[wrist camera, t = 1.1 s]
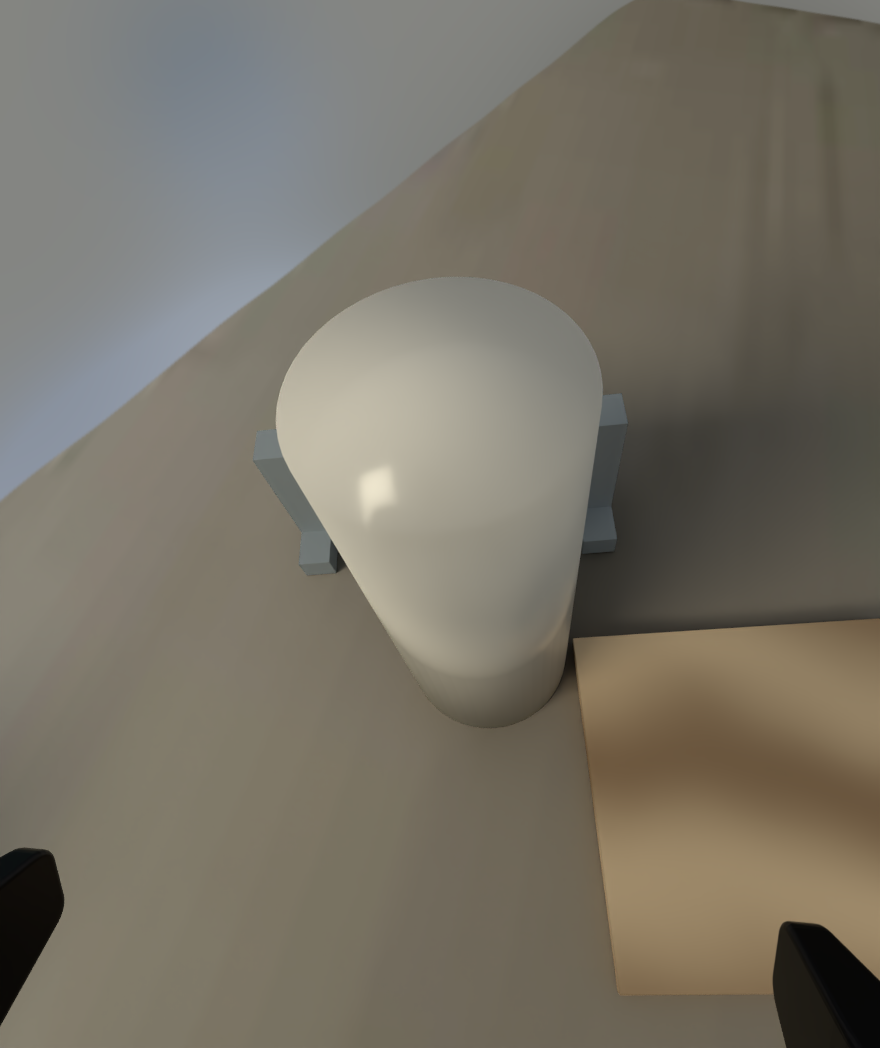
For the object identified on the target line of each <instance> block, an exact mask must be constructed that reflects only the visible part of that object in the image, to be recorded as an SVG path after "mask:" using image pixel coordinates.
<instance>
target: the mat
mask: <svg viewBox="0 0 880 1048" xmlns="http://www.w3.org/2000/svg"><path fill="white" fill-rule="evenodd" d="M572 645H573V653H574V661H575V668H576V676H577V684H578V691H579V699H580V707H581V714H582V722H583V730H584V737H585V745H586V753H587V760H588V768H589V776H590V783H591V791H592V799H593V806H594V814H595V822H596V829H597V837H598V845H599V852H600V860H601V868H602V875H603V883H604V891H605V898H606V906H607V914H608V921H609V929H610V937H611V944H612V952H613V960H614V967H615V975H616V983H617V990H618V993H619V994H620V995H734V994H774V993H773V982H772V977H773V969H774V962H775V955H776V948H777V941H778V934H779V929H780V926H781V925H782V923H783V922H786V921H795V922H805V923H815V924H820V925H822V926H824V927H825V928H827V929H828V930H829V931H830V932H831V933H832V934H833V935H834V936H835V937H836V938H837V939H838V940H839V941H841V942H842V943H843V944H844V945H845V946H846V947H847V948H848V949H849V950H850V951H851V952H852V953H853V954H854V955H855V956H856V957H857V958H858V959H859V960H860V961H861V962H862V963H863V964H864V965H865V966H866V967H867V968H868V969H869V970H870V971H871V972H872V973H873V974H874V975H875V976H876V977H877V978H878V979H879V980H880V618H879V619H863V620H848V621H833V622H817V623H802V624H786V625H771V626H755V627H740V628H724V629H709V630H694V631H678V632H663V633H647V634H632V635H616V636H601V637H586V638H573V643H572Z"/></svg>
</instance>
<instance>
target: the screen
mask: <svg viewBox="0 0 880 1048" xmlns="http://www.w3.org/2000/svg"><path fill="white" fill-rule="evenodd" d="M627 426H628V421H627V417H626V412H625V407H624V403H623V398H622V393H620V394H611V395H603V396H602V409H601V416H600V423H599V430H598V436H597V443H596V450H595V457H594V464H593V471H592V478H591V485H590V492H589V499H588V506H587V513H586V520H585V527H584V534H583V541H582V548H581V550H582V554H586V553H599V552H611V551H614V550H615V546H616V542H617V536H616V530H615V525H614V519H613V514H612V508H611V504H612V500H613V495H614V490H615V485H616V480H617V475H618V470H619V465H620V460H621V455H622V450H623V445H624V440H625V435H626V431H627ZM253 461H254V463H255V464H256V466H257V467H258V469H259V470H260V472H261V473H262V475H263V476H264V478H265V479H266V481H267V482H268V484H269V485H270V486H271V488H272V489H273V491H274V492H275V494H276V495H277V497H278V498H279V500H280V501H281V503H282V504H283V506H284V507H285V509H286V510H287V512H288V513H289V514H290V516H291V517H292V519H293V520H294V522H295V523H296V525H297V526H298V528H299V529H300V531H301V532H302V536H301V546H300V556H299V566H300V567H301V568H302V570H303V571H304V572H305V574H306V575H317V574H330V573H336V569H337V553H338V550H337V548H336V546H335V545H334V543H333V541H332V540H331V538H330V536H329V535H328V533H327V531H326V530H325V528H324V526H323V525H322V523H321V521H320V520H319V518H318V516H317V515H316V513H315V511H314V510H313V508H312V506H311V505H310V503H309V501H308V500H307V498H306V497H305V495H304V493H303V492H302V490H301V488H300V487H299V485H298V483H297V482H296V480H295V478H294V477H293V475H292V473H291V472H290V470H289V468H288V466H287V464H286V462H285V460H284V457H283V455H282V452H281V449H280V445H279V442H278V437H277V429H272V430H263V431H257V435H256V442H255V449H254V456H253Z"/></svg>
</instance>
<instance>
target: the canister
mask: <svg viewBox="0 0 880 1048" xmlns="http://www.w3.org/2000/svg"><path fill="white" fill-rule="evenodd" d="M602 396H603V385H602V375H601V370H600V366H599V363H598V359H597V356H596V354H595V352H594V350H593V348H592V346H591V344H590V341H589V340H588V338H587V337H586V336H585V334H584V333H583V331H582V330H581V328H580V327H579V326H578V325H577V324H576V323H575V322H574V321H573V320H572V319H571V318H570V317H569V316H568V315H567V314H566V313H565V312H564V311H562V310H561V309H560V308H558V307H557V306H556V305H555V304H553V303H551V302H550V301H548V300H546V299H545V298H543V297H541V296H540V295H537V294H535V293H533V292H531V291H528V290H526V289H524V288H521V287H518V286H515V285H512V284H509V283H505V282H500V281H495V280H491V279H484V278H474V277H442V278H431V279H425V280H419V281H413V282H409V283H405V284H402V285H398V286H394V287H391V288H389V289H386V290H383V291H380V292H377V293H375V294H373V295H371V296H369V297H367V298H364V299H362V300H360V301H358V302H357V303H355V304H353V305H352V306H350V307H348V308H346V309H345V310H343V311H342V312H340V313H339V314H338V315H336V316H335V317H334V318H332V319H331V320H329V321H328V322H327V323H326V324H325V325H324V326H323V327H321V328H320V329H319V330H318V331H317V332H316V333H315V334H314V335H313V336H312V337H311V338H310V340H309V341H308V342H307V343H306V344H305V345H304V346H303V348H302V349H301V351H300V352H299V353H298V355H297V356H296V358H295V359H294V361H293V362H292V364H291V366H290V368H289V370H288V372H287V374H286V376H285V379H284V381H283V384H282V387H281V389H280V393H279V398H278V403H277V411H276V428H277V437H278V442H279V445H280V449H281V452H282V455H283V457H284V460H285V462H286V464H287V466H288V468H289V470H290V472H291V473H292V475H293V477H294V478H295V480H296V482H297V483H298V485H299V487H300V488H301V490H302V492H303V493H304V495H305V497H306V498H307V500H308V501H309V503H310V505H311V506H312V508H313V510H314V511H315V513H316V515H317V516H318V518H319V520H320V521H321V523H322V525H323V526H324V528H325V530H326V531H327V533H328V535H329V536H330V538H331V540H332V541H333V543H334V545H335V546H336V548H337V550H338V551H339V553H340V555H341V556H342V558H343V560H344V561H345V563H346V565H347V566H348V568H349V570H350V571H351V573H352V575H353V576H354V578H355V580H356V581H357V583H358V585H359V586H360V588H361V590H362V591H363V593H364V595H365V596H366V598H367V600H368V601H369V603H370V605H371V606H372V608H373V610H374V611H375V613H376V615H377V616H378V618H379V619H380V621H381V623H382V624H383V626H384V628H385V629H386V631H387V633H388V634H389V636H390V638H391V639H392V641H393V643H394V644H395V646H396V648H397V649H398V651H399V653H400V654H401V656H402V658H403V659H404V661H405V663H406V664H407V666H408V668H409V669H410V671H411V673H412V674H413V676H414V678H415V679H416V681H417V683H418V684H419V686H420V688H421V689H422V691H423V692H424V694H425V695H426V697H427V698H428V700H429V701H430V702H431V703H432V704H433V705H434V706H435V707H436V708H437V709H438V710H439V711H441V712H442V713H443V714H445V715H446V716H448V717H449V718H451V719H453V720H455V721H457V722H460V723H462V724H465V725H469V726H473V727H479V728H498V727H505V726H508V725H512V724H515V723H518V722H520V721H523V720H525V719H526V718H528V717H530V716H531V715H533V714H534V713H536V712H537V711H538V710H539V709H541V708H542V707H543V706H544V705H545V704H546V703H547V702H548V700H549V699H550V698H551V696H552V695H553V694H554V692H555V690H556V688H557V687H558V685H559V683H560V680H561V677H562V675H563V671H564V666H565V660H566V653H567V646H568V639H569V632H570V625H571V618H572V611H573V604H574V597H575V590H576V583H577V576H578V569H579V562H580V555H581V548H582V541H583V534H584V527H585V520H586V513H587V506H588V499H589V492H590V485H591V478H592V471H593V464H594V457H595V450H596V443H597V436H598V430H599V423H600V416H601V409H602Z"/></svg>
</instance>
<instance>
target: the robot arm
mask: <svg viewBox="0 0 880 1048" xmlns="http://www.w3.org/2000/svg"><path fill="white" fill-rule="evenodd" d="M63 907H64V894H63V890H62V886H61V882H60V878H59V874H58V870H57V866H56V862H55V859H54V856H53V854H52V853H51V852H50V851H48V850H44V849H34V848H18V849H15V850H13V851H11V852H9V853H7V854H5V855H4V856H2V857H0V1026H1V1024H2V1022H3V1020H4V1018H5V1017H6V1015H7V1013H8V1011H9V1009H10V1008H11V1006H12V1004H13V1002H14V1001H15V999H16V997H17V995H18V993H19V992H20V990H21V988H22V986H23V984H24V983H25V981H26V979H27V977H28V975H29V974H30V972H31V970H32V968H33V966H34V965H35V963H36V961H37V959H38V957H39V956H40V954H41V952H42V950H43V949H44V947H45V945H46V943H47V941H48V940H49V938H50V936H51V934H52V932H53V931H54V929H55V927H56V925H57V923H58V922H59V919H60V917H61V914H62V912H63ZM772 982H773V993H774V999H775V1004H776V1008H777V1012H778V1016H779V1020H780V1024H781V1028H782V1032H783V1036H784V1040H785V1044H786V1048H880V980H879V979H878V978H877V977H876V976H875V975H874V974H873V973H872V972H871V971H870V970H869V969H868V968H867V967H866V966H865V965H864V964H863V963H862V962H861V961H860V960H859V959H858V958H857V957H856V956H855V955H854V954H853V953H852V952H851V951H850V950H849V949H848V948H847V947H846V946H845V945H844V944H843V943H842V942H841V941H839V940H838V939H837V938H836V937H835V936H834V935H833V934H832V933H831V932H830V931H829V930H828V929H827V928H825V927H824V926H822V925H820V924H815V923H805V922H795V921H786V922H783V923H782V925H781V926H780V929H779V934H778V941H777V948H776V955H775V962H774V969H773V977H772Z"/></svg>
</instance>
